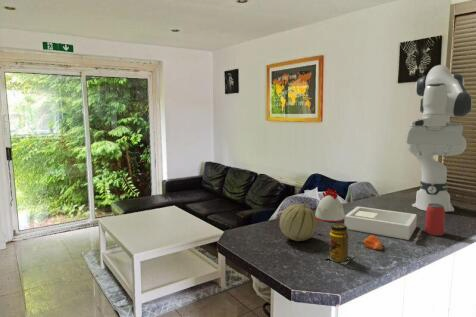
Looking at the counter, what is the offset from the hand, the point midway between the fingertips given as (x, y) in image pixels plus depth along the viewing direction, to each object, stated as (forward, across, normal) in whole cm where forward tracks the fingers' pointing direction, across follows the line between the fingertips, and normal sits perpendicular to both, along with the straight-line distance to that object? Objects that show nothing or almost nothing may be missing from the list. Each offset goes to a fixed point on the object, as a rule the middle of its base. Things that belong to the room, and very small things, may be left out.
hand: (432, 155), depth 136 cm
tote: (+32, +19, +3) cm, 38 cm away
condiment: (+36, +34, +37) cm, 62 cm away
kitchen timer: (+32, +40, -6) cm, 52 cm away
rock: (+35, +22, +24) cm, 48 cm away
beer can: (+32, -2, +2) cm, 32 cm away
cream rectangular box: (+32, +25, +2) cm, 40 cm away
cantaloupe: (+35, +50, +24) cm, 66 cm away
